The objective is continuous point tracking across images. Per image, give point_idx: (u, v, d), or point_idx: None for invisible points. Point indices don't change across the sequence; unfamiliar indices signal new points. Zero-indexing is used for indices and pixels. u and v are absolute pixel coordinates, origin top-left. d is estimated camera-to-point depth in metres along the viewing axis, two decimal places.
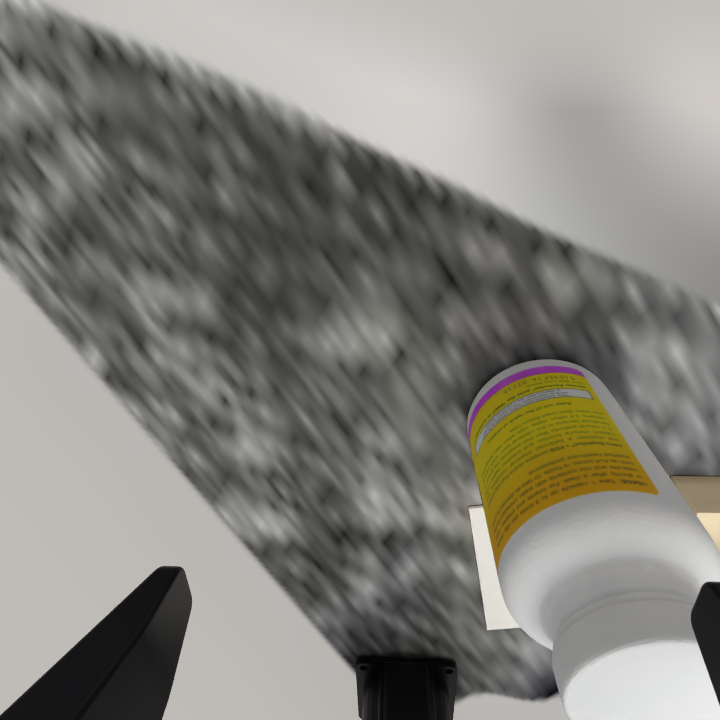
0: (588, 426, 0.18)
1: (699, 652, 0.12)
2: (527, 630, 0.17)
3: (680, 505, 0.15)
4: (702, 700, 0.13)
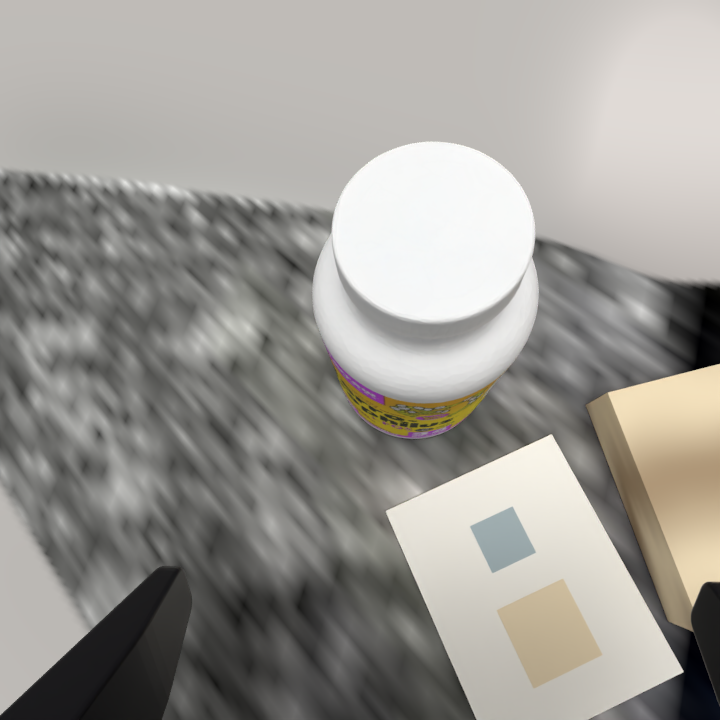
0: None
1: (430, 150, 0.12)
2: (350, 346, 0.14)
3: None
4: (478, 213, 0.12)
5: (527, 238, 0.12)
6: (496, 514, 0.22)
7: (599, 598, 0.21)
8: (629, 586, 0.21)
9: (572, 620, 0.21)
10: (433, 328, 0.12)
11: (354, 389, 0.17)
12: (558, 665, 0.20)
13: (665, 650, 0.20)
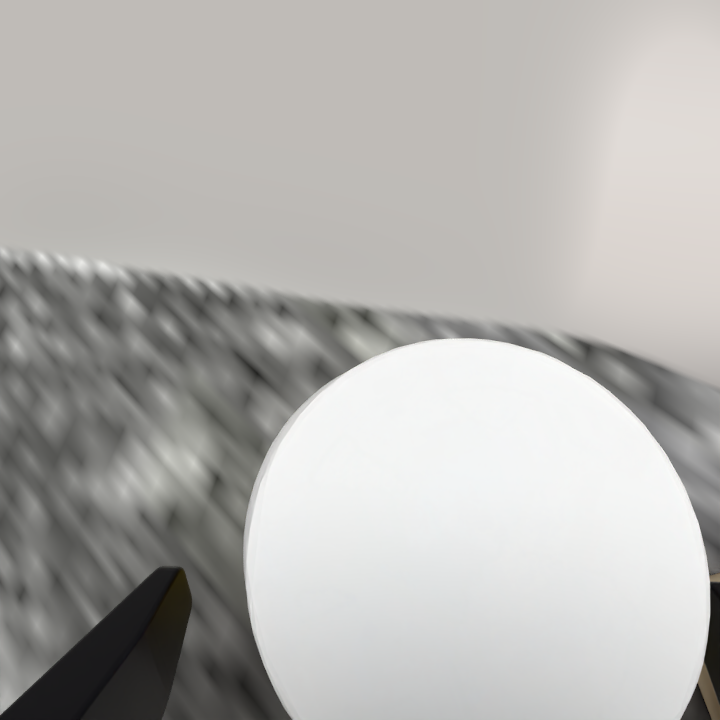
0: None
1: (462, 360, 0.06)
2: None
3: None
4: (575, 525, 0.05)
5: (694, 598, 0.05)
6: None
7: None
8: None
9: None
10: None
11: None
12: None
13: None
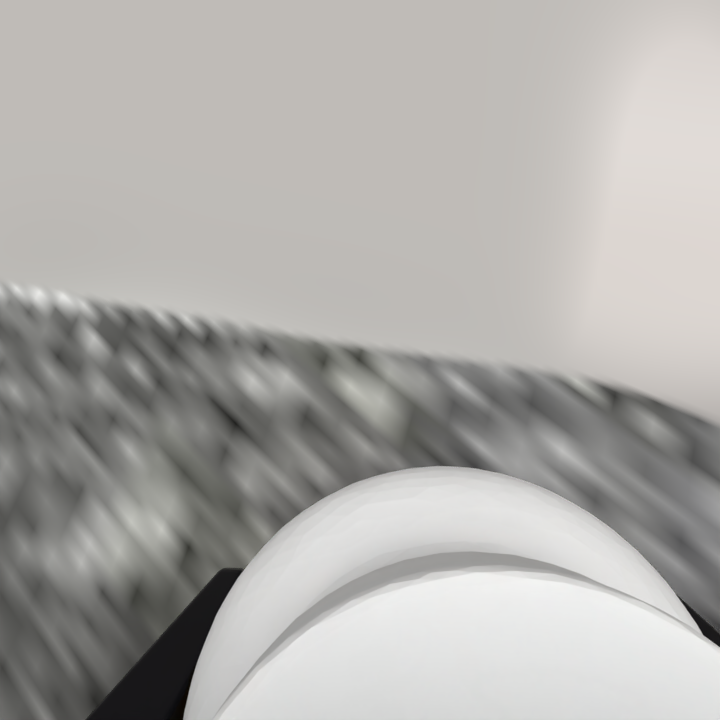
0: None
1: (502, 615, 0.03)
2: None
3: None
4: None
5: None
6: None
7: None
8: None
9: None
10: None
11: None
12: None
13: None
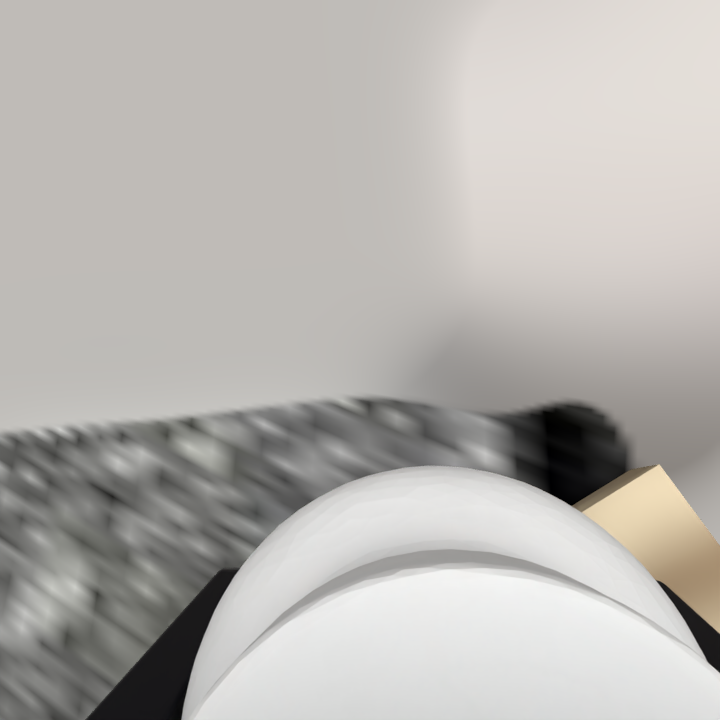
0: None
1: (471, 612, 0.03)
2: None
3: None
4: None
5: None
6: None
7: None
8: None
9: None
10: None
11: None
12: None
13: None
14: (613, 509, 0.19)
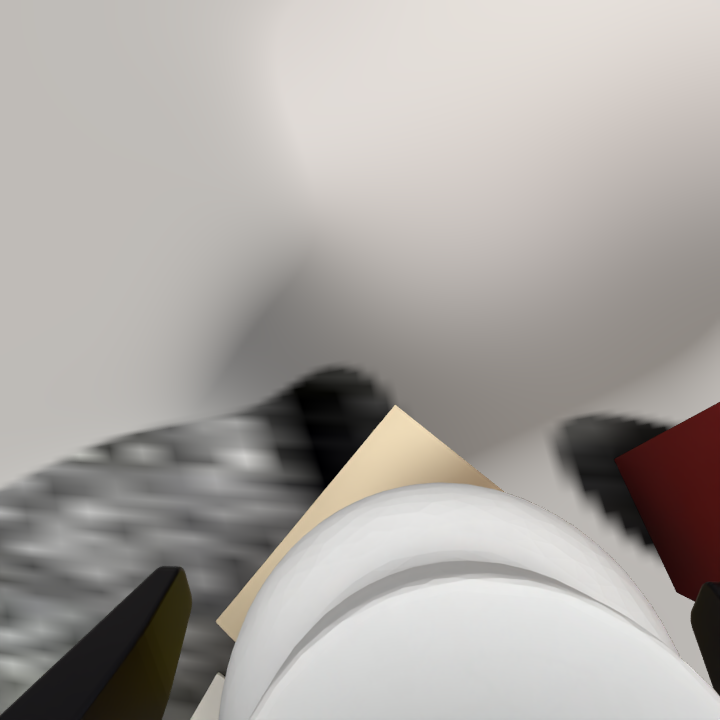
0: None
1: (490, 612, 0.04)
2: None
3: None
4: None
5: None
6: None
7: None
8: None
9: None
10: None
11: None
12: None
13: None
14: (360, 469, 0.17)
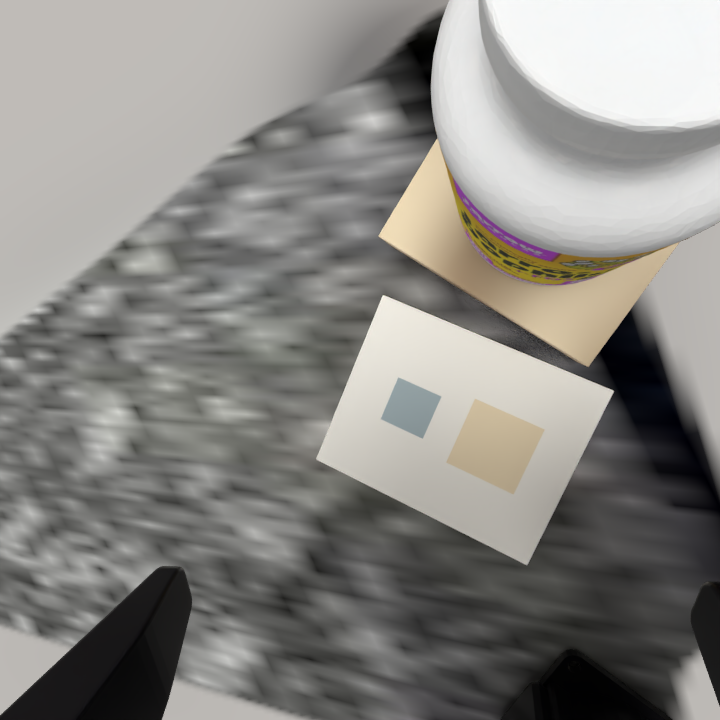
0: None
1: None
2: (510, 188, 0.09)
3: None
4: None
5: None
6: (392, 394, 0.22)
7: (511, 390, 0.21)
8: (528, 361, 0.21)
9: (504, 423, 0.21)
10: (697, 136, 0.06)
11: (502, 244, 0.12)
12: (519, 463, 0.21)
13: (589, 386, 0.20)
14: None
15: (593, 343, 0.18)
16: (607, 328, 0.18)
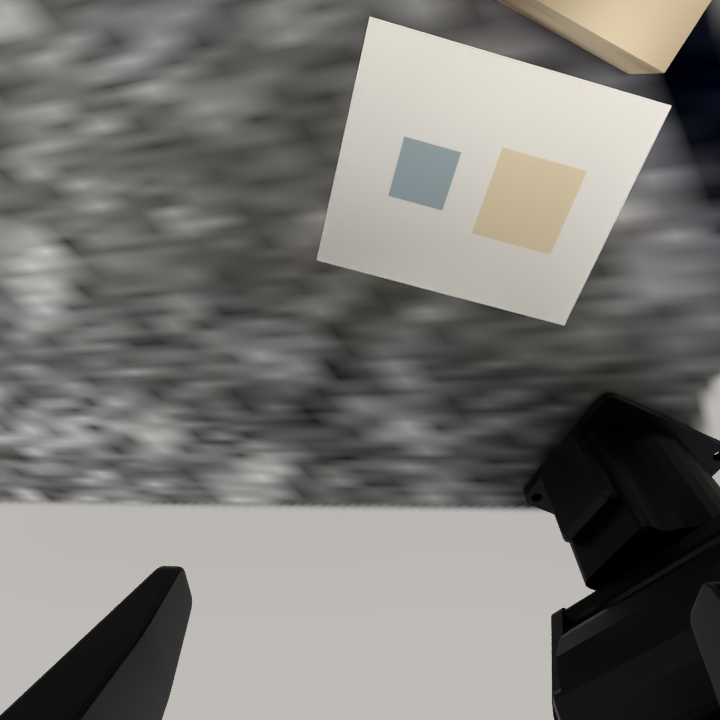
0: None
1: None
2: None
3: None
4: None
5: None
6: (398, 160, 0.18)
7: (548, 127, 0.17)
8: (568, 84, 0.16)
9: (539, 173, 0.18)
10: None
11: None
12: (556, 218, 0.18)
13: (642, 105, 0.17)
14: None
15: (674, 36, 0.14)
16: (694, 10, 0.14)
